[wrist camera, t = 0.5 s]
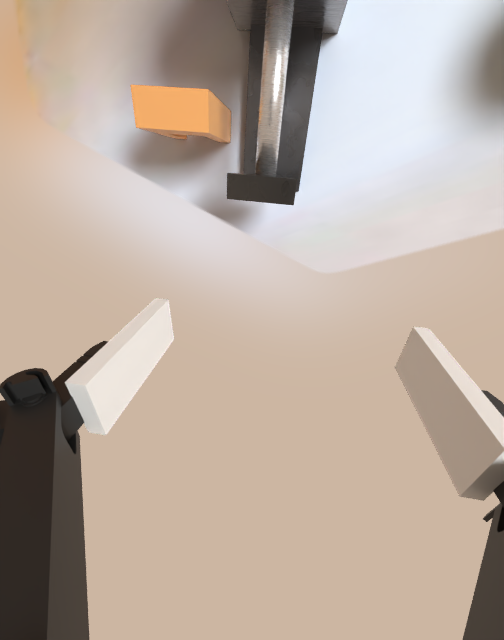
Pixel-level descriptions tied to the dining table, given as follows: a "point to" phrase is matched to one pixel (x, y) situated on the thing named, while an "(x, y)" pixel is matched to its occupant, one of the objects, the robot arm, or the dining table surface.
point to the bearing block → (307, 27)
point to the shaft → (269, 115)
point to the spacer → (181, 112)
